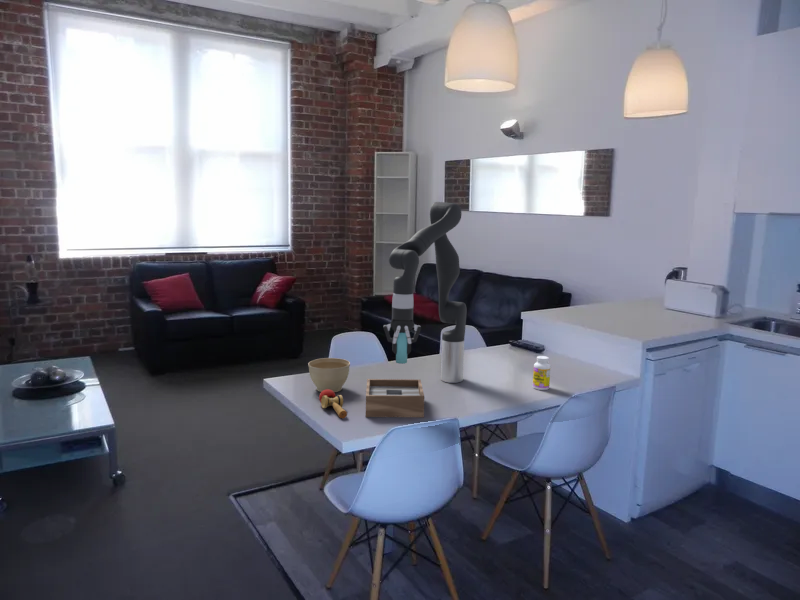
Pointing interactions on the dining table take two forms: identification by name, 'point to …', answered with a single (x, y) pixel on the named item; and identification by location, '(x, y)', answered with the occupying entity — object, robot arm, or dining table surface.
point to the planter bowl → (329, 373)
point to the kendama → (332, 402)
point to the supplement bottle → (541, 373)
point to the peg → (401, 348)
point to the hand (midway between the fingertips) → (401, 353)
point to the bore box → (394, 398)
